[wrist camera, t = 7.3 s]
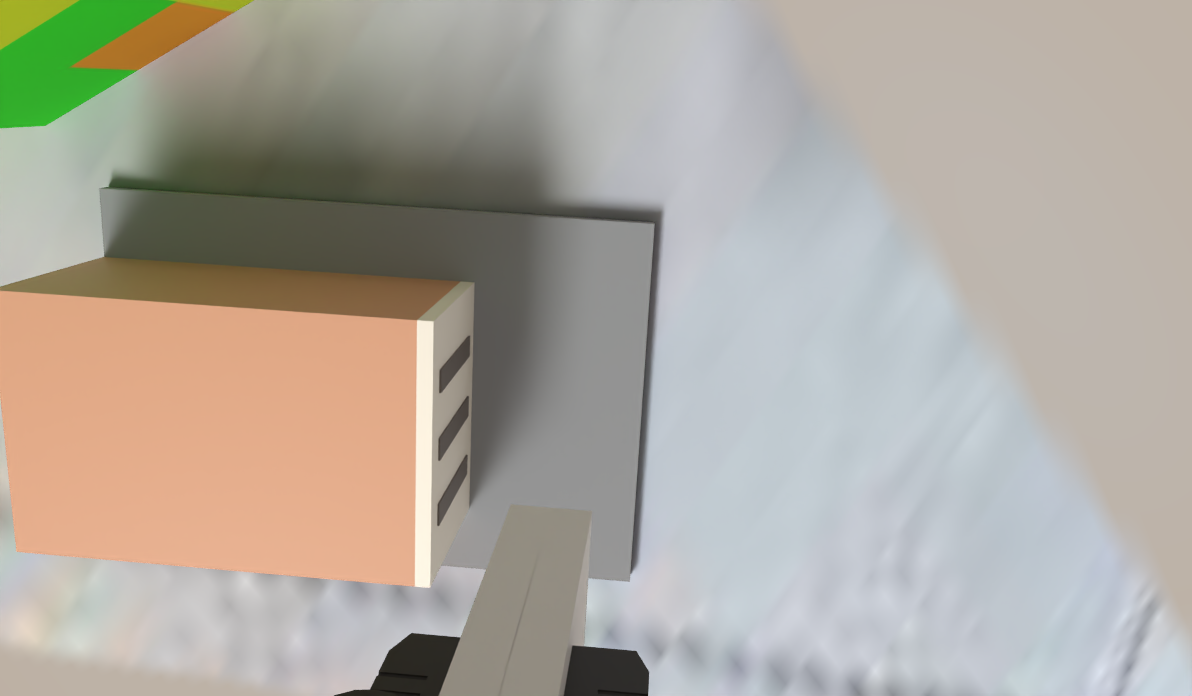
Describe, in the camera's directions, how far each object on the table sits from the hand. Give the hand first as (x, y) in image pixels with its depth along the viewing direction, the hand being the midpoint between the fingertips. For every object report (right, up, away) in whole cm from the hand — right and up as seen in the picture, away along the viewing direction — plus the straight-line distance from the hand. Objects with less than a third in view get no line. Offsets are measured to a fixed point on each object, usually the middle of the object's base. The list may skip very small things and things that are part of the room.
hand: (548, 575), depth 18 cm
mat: (-6, +3, +12) cm, 13 cm away
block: (-3, +2, +9) cm, 9 cm away
